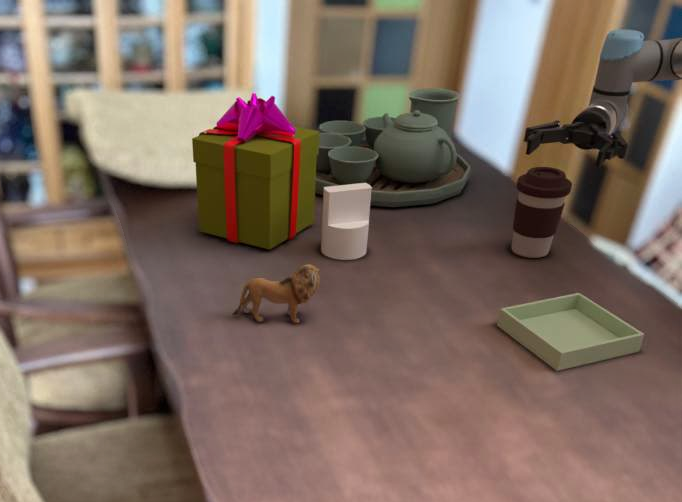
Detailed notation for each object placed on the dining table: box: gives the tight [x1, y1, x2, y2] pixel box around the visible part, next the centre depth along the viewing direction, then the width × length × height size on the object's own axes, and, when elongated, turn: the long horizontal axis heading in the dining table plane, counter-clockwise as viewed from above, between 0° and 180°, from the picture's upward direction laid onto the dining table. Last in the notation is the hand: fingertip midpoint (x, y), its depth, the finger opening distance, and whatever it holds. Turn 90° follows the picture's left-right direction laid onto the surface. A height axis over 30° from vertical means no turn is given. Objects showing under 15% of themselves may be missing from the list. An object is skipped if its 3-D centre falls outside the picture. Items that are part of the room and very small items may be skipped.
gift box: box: [191, 92, 320, 250], centre depth 161 cm, size 21×21×25 cm
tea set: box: [315, 87, 472, 208], centre depth 187 cm, size 40×40×16 cm
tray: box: [496, 292, 646, 372], centre depth 134 cm, size 16×16×3 cm
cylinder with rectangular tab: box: [320, 183, 372, 261], centre depth 158 cm, size 9×9×12 cm
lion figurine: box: [231, 263, 321, 324], centre depth 137 cm, size 15×5×9 cm, turn 94°
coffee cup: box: [511, 166, 573, 259], centre depth 157 cm, size 10×10×15 cm
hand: (563, 153), depth 158 cm, fingers open, 13 cm apart
